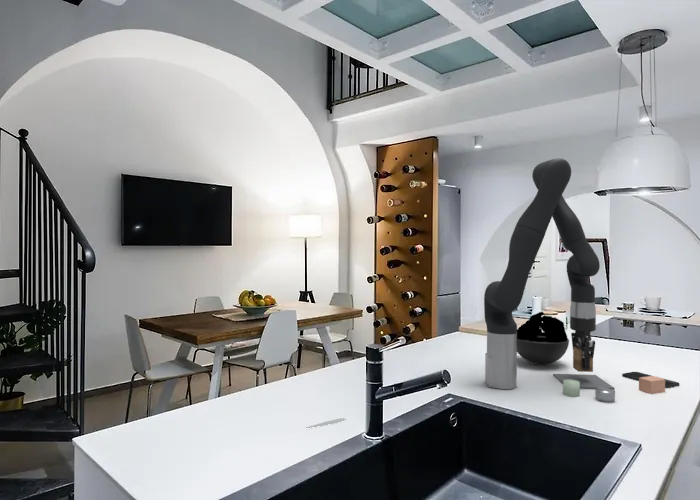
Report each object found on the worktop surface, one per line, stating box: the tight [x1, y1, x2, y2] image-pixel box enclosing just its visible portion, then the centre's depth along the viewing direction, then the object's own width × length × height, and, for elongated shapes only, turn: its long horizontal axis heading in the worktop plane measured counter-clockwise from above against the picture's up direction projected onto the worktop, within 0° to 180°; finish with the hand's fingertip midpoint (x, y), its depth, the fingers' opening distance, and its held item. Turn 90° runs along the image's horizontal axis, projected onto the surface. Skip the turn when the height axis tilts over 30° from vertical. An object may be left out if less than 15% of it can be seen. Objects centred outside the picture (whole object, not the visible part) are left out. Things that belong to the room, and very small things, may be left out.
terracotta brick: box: [638, 375, 666, 395], centre depth 144 cm, size 6×4×4 cm, turn 110°
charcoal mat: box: [552, 373, 615, 391], centre depth 152 cm, size 14×14×1 cm
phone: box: [621, 371, 680, 389], centre depth 154 cm, size 8×1×15 cm
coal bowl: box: [517, 311, 570, 366], centre depth 175 cm, size 20×20×19 cm
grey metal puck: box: [594, 387, 616, 404], centre depth 136 cm, size 5×5×3 cm
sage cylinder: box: [562, 379, 581, 398], centre depth 140 cm, size 4×4×4 cm
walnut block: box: [572, 346, 594, 373], centre depth 152 cm, size 4×4×7 cm
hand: (582, 367), depth 152 cm, fingers closed on walnut block, 4 cm apart
